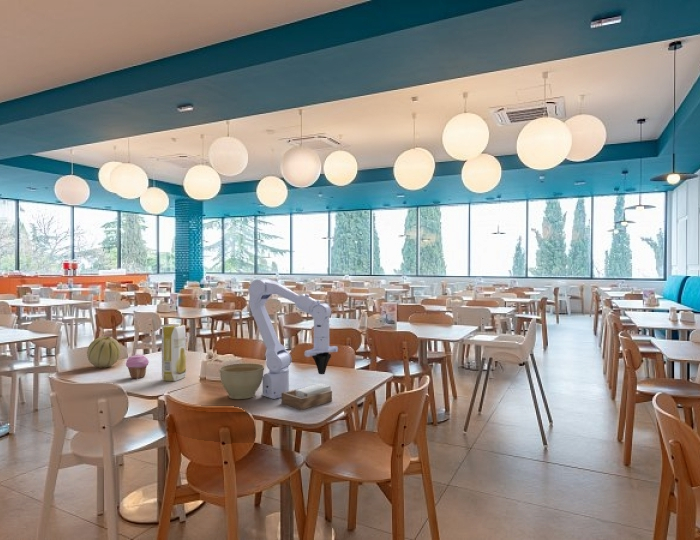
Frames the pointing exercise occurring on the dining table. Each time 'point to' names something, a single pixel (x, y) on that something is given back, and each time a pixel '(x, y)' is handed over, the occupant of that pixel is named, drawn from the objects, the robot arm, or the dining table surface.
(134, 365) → the cupcake
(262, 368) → the planter bowl
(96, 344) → the cantaloupe
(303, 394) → the skincare box
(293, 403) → the walnut cradle
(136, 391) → the dining table surface
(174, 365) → the juice carton
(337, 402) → the dining table surface
